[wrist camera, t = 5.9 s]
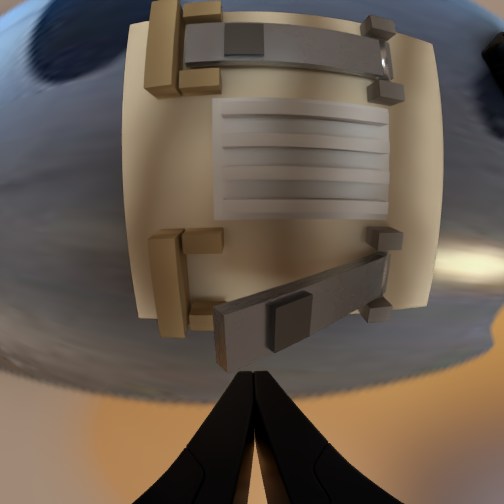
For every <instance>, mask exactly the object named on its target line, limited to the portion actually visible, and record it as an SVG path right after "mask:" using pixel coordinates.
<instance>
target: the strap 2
mask: <svg viewBox="0 0 504 504" xmlns="http://www.w3.org/2000/svg"><path fill="white" fill-rule="evenodd" d="M390 258H391V254H389V252H388V251H377V250H375V252H374V254H371V255H368V256H365V257H363V258H360V259H357V260H354V261H351V262H349V263H346V264H343V265H340V266H337V267H334V268H331V269H328V270H325V271H323V272H320V273H317V274H314V275H311V276H308V277H305V278H302V279H299V280H296V281H293V282H290V283H287V284H283V285H280V286H277V287H274V288H271V289H268V290H265V291H262V292H258V293H255V294H252V295H249V296H246V297H242V298H239V299H236V300H233V301H229V302H226V303H223V304H219V305H216V306H213V307H212V313H213V326H214V338H215V350H216V361H217V364H218V365H219V366H220V367H222V368H223V369H224V370H225V371H226V372H227V373H230V372H232V371H234V370H237V369H239V368H241V367H244V366H246V365H248V364H250V363H253V362H255V361H257V360H259V359H262V358H264V357H266V356H268V355H270V354H272V353H276V352H278V351H280V350H282V349H284V348H286V347H288V346H290V345H292V344H295V343H297V342H299V341H301V340H302V339H304V338H306V337H308V336H310V335H311V334H313V333H315V332H317V331H319V330H321V329H323V328H324V327H326V326H328V325H330V324H332V323H334V322H336V321H337V320H339V319H341V318H343V317H345V316H346V315H348V314H350V313H352V312H354V311H355V310H357V309H359V308H361V307H362V306H364V305H366V304H367V303H369V302H371V301H372V300H374V299H376V298H382V297H383V294H384V293H386V287H387V280H388V273H389V266H390Z"/></svg>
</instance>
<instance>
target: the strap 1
mask: <svg viewBox="0 0 504 504" xmlns="http://www.w3.org/2000/svg"><path fill="white" fill-rule="evenodd" d="M185 65H186V67H187V68H189V67H203V66H228V65H255V66H281V67H295V68H306V69H316V70H324V71H332V72H339V73H345V74H351V75H357V76H363V77H368V78H373V79H376V81H377V80H379V79H380V80H385V81H389V82H391V80H392V79H394V77H393V68H392V60H391V53H390V46H389V43H388V42H386V40H384V39H382V38H374V39H373V38H369V37H365V36H360V35H356V34H351V33H346V32H341V31H335V30H329V29H323V28H316V27H309V26H300V25H291V24H279V23H260V22H217V23H199V24H187V30H186V46H185Z"/></svg>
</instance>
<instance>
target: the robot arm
mask: <svg viewBox="0 0 504 504" xmlns="http://www.w3.org/2000/svg"><path fill="white" fill-rule="evenodd" d="M483 57H484V59H485V60H486V62H487V63H488V65H489V66H490V68H491V69H492V71H493V72H494V74H495V76H496V77H497V79H498V81H499V82H500V84H501V86H502V87H503V89H504V32H500V33H499V34H498V35H497V36H496V37H495V38H494V40H493V41H492V42H491V43H490V44H489V45H488V47H487V48H486V49H485V50H484V51H483ZM254 428H255V431H254ZM254 440H255V442H256V449H257V454H258V459H259V464H260V469H261V474H262V479H263V484H264V489H265V493H266V498H267V503H268V504H404V503H402V502H400V501H399V500H397V499H396V498H394V497H393V496H392V495H390V494H389V493H387V492H386V491H384V490H383V489H382V488H380V487H379V486H378V485H376V484H375V483H373V482H372V481H371V480H369V479H368V478H367V477H366V476H364V475H363V474H362V473H361V472H359V471H358V470H357V469H356V468H355V467H353V466H352V465H351V464H350V463H349V462H347V460H346V459H345V458H344V457H342V455H341V454H340V453H339V452H338V451H337V450H336V449H335V448H334V447H333V446H332V445H331V444H330V443H328V441H327V440H326V438H325V437H324V436H323V435H322V434H321V433H320V432H319V431H318V430H317V429H316V427H315V426H314V425H313V424H312V423H311V422H310V420H309V419H308V418H307V417H306V416H305V415H304V414H303V413H302V411H301V410H300V409H299V408H298V407H297V406H296V404H295V403H294V402H293V401H292V400H291V398H290V397H289V396H288V395H287V394H286V393H285V391H284V390H283V389H282V388H281V387H280V385H279V384H278V383H277V382H276V381H275V379H274V378H273V377H272V376H271V374H270V373H269V372H268V371H254V372H253V373H252V372H251V371H239V372H238V373H237V374H236V376H235V377H234V379H233V380H232V382H231V383H230V385H229V386H228V388H227V389H226V391H225V392H224V393H223V395H222V396H221V398H220V399H219V401H218V402H217V404H216V405H215V407H214V408H213V409H212V411H211V412H210V414H209V415H208V417H207V418H206V419H205V421H204V422H203V424H202V425H201V426H200V428H199V429H198V431H197V432H196V434H195V435H194V436H193V438H192V439H191V440H190V442H189V443H188V444H187V446H186V448H184V450H183V451H182V452H181V454H180V455H179V457H178V458H177V459H176V460H175V461H174V463H173V464H172V465H171V466H170V468H169V469H168V470H167V471H166V472H165V473H164V474H163V475H162V476H161V477H160V478H159V479H158V480H157V481H156V482H155V483H154V484H153V485H152V486H151V487H150V488H149V489H148V490H147V491H146V492H144V494H142V495H141V496H140V497H139V498H138V499H137V500H135V501H134V502H133V503H132V504H247V502H248V494H249V486H250V478H251V469H252V461H253V452H254Z"/></svg>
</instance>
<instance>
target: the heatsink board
mask: <svg viewBox="0 0 504 504" xmlns="http://www.w3.org/2000/svg"><path fill="white" fill-rule="evenodd" d="M217 22H260V23H279V24H291V25H300V26H309V27H316V28H323V29H329V30H335V31H341V32H346V33H351V34H356V35H360V36H365V37H369V38H373V39H374V38H382V39H384V40H386V42H388V43H389V46H390V53H391V60H392V68H393V77H394V79H392V80H391V82H389V81H385V80H380V79H379V80H377V81H376V79H373V78H368V77H363V76H357V75H351V74H345V73H339V72H332V71H324V70H316V69H306V68H295V67H281V66H255V65H228V66H203V67H189V68H187V67H186V65H185V46H186V30H187V24H199V23H217ZM122 170H123V192H124V207H125V220H126V231H127V241H128V250H129V258H130V265H131V273H132V280H133V286H134V292H135V298H136V304H137V310H138V315H139V318H154V319H157V320H158V326H159V331H160V337H170V338H185V336H186V333H187V330H188V327H189V324H190V329H191V331H214V326H213V313H212V307H213V306H216V305H219V304H223V303H226V302H229V301H233V300H236V299H239V298H242V297H246V296H249V295H252V294H255V293H258V292H262V291H265V290H268V289H271V288H274V287H277V286H280V285H283V284H287V283H290V282H293V281H296V280H299V279H302V278H305V277H308V276H311V275H314V274H317V273H320V272H323V271H325V270H328V269H331V268H334V267H337V266H340V265H343V264H346V263H349V262H351V261H354V260H357V259H360V258H363V257H365V256H368V255H371V254H374V252H375V250H377V251H388V252H389V254H391V258H390V266H389V273H388V280H387V287H386V293H384V294H383V297H382V298H376V299H374V300H372V301H371V302H369V303H367V304H366V305H364V306H362V307H361V308H359V309H357V310H355V311H354V312H352V313H350V314H355V313H360V314H361V315H362V316H363V318H364V319H365V320H366V322H367V323H373V322H382V321H390V319H391V314H392V310H396V309H405V308H413V307H421V306H427V302H428V297H429V292H430V287H431V282H432V277H433V271H434V265H435V259H436V252H437V245H438V237H439V229H440V219H441V207H442V191H443V126H442V111H441V99H440V90H439V82H438V74H437V68H436V62H435V56H434V50H433V45H432V44H430V43H428V42H425V41H422V40H419V39H416V38H413V37H410V36H407V35H404V34H400V33H397V32H396V29H395V23H394V21H393V20H389V19H386V18H382V17H378V16H374V15H369V16H368V17H367V18H366V20H365V21H364V22H363V23H362V24H361V23H356V22H351V21H346V20H341V19H335V18H328V17H321V16H313V15H305V14H294V13H280V12H222V6H221V1H208V2H197V3H188V4H184V10H182V7H181V5H180V2H179V0H159V1H154V2H152V6H151V13H150V20H149V21H146V22H141V23H136V24H132V25H130V30H129V37H128V45H127V54H126V64H125V75H124V90H123V112H122Z"/></svg>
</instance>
